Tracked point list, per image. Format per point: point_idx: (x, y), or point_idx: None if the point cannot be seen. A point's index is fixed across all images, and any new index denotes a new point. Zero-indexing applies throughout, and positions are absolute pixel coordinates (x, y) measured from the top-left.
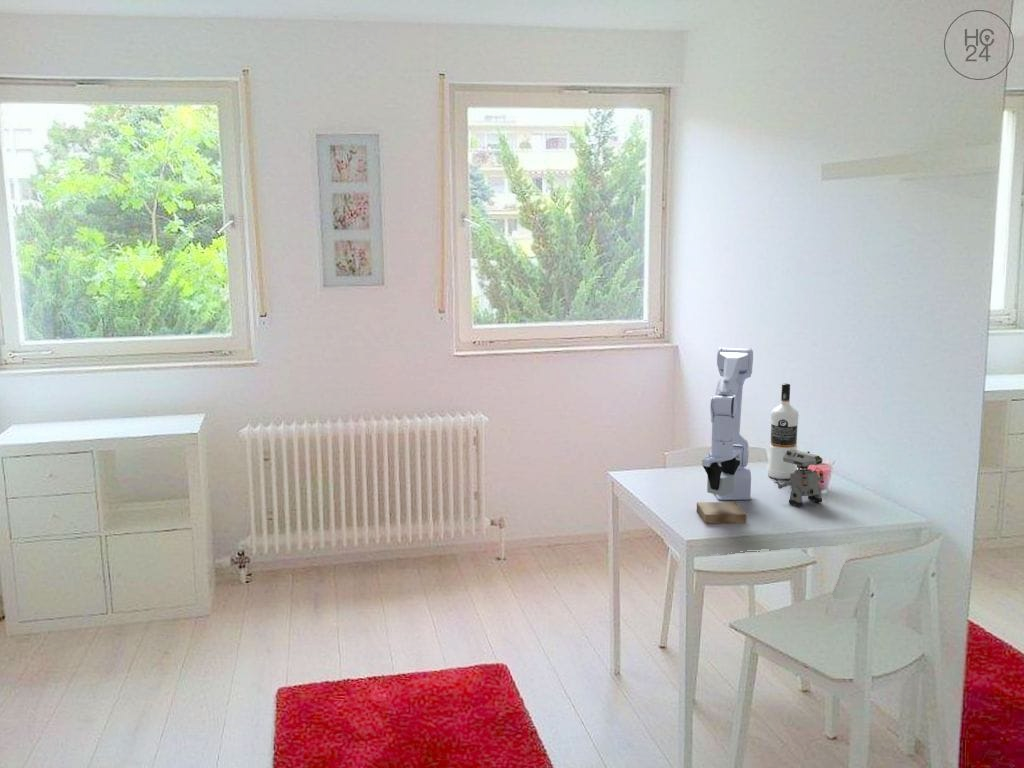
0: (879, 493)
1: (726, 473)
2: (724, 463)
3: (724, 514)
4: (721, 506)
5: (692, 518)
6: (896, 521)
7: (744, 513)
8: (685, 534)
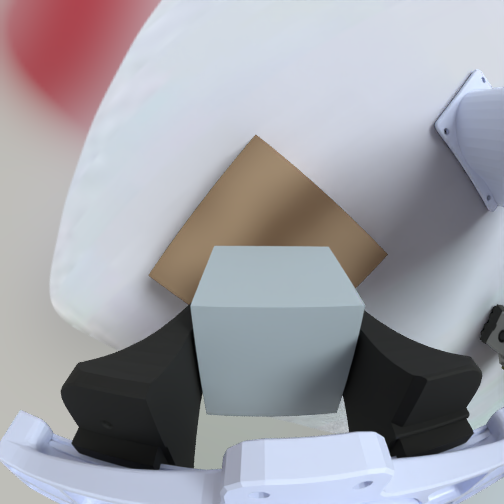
0: None
1: (343, 372)
2: (385, 406)
3: None
4: None
5: (167, 189)
6: None
7: None
8: (56, 280)
